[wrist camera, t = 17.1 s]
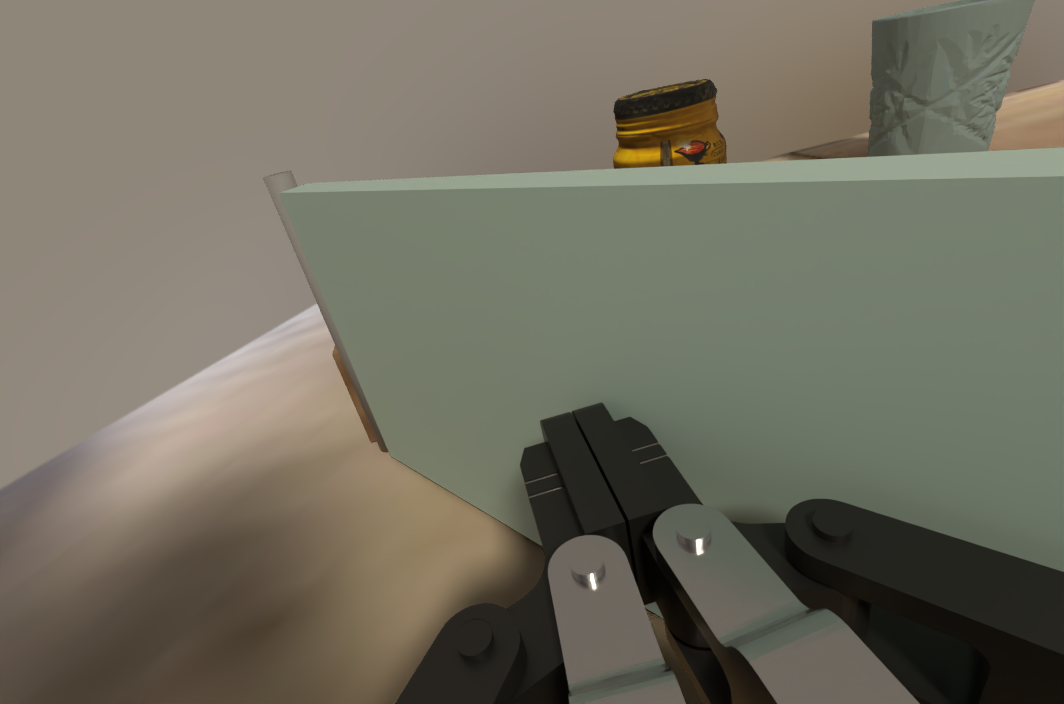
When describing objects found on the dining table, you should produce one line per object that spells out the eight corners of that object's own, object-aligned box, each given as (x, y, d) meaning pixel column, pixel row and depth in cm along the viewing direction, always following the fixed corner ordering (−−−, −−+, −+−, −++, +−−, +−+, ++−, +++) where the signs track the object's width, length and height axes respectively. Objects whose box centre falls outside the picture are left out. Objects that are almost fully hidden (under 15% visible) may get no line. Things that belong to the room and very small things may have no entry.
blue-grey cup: (835, 166, 51) (845, 24, 45) (933, 143, 51) (955, -1, 46) (918, 183, 42) (943, 9, 36) (1036, 154, 42) (1078, -23, 37)
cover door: (374, 448, 25) (256, 179, 19) (395, 434, 26) (287, 170, 20) (983, 815, 10) (1309, 106, 4) (992, 758, 11) (1280, 82, 5)
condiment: (606, 296, 35) (578, 103, 30) (714, 260, 37) (707, 71, 31) (664, 336, 29) (642, 101, 23) (791, 291, 31) (799, 61, 25)
